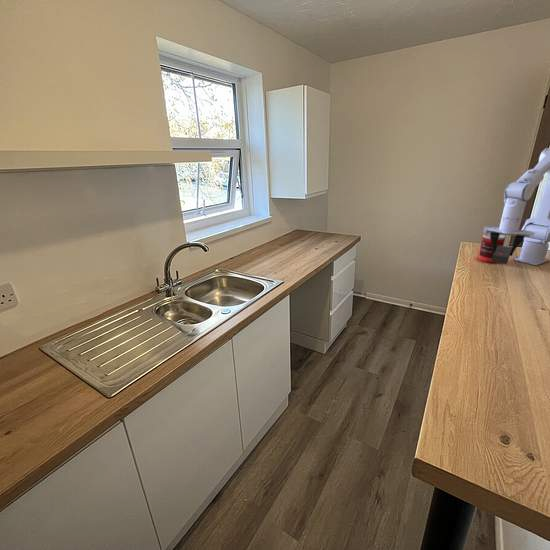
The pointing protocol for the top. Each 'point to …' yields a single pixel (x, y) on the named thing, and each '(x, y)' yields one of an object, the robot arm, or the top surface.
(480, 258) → the canned food
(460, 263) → the top surface
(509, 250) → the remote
